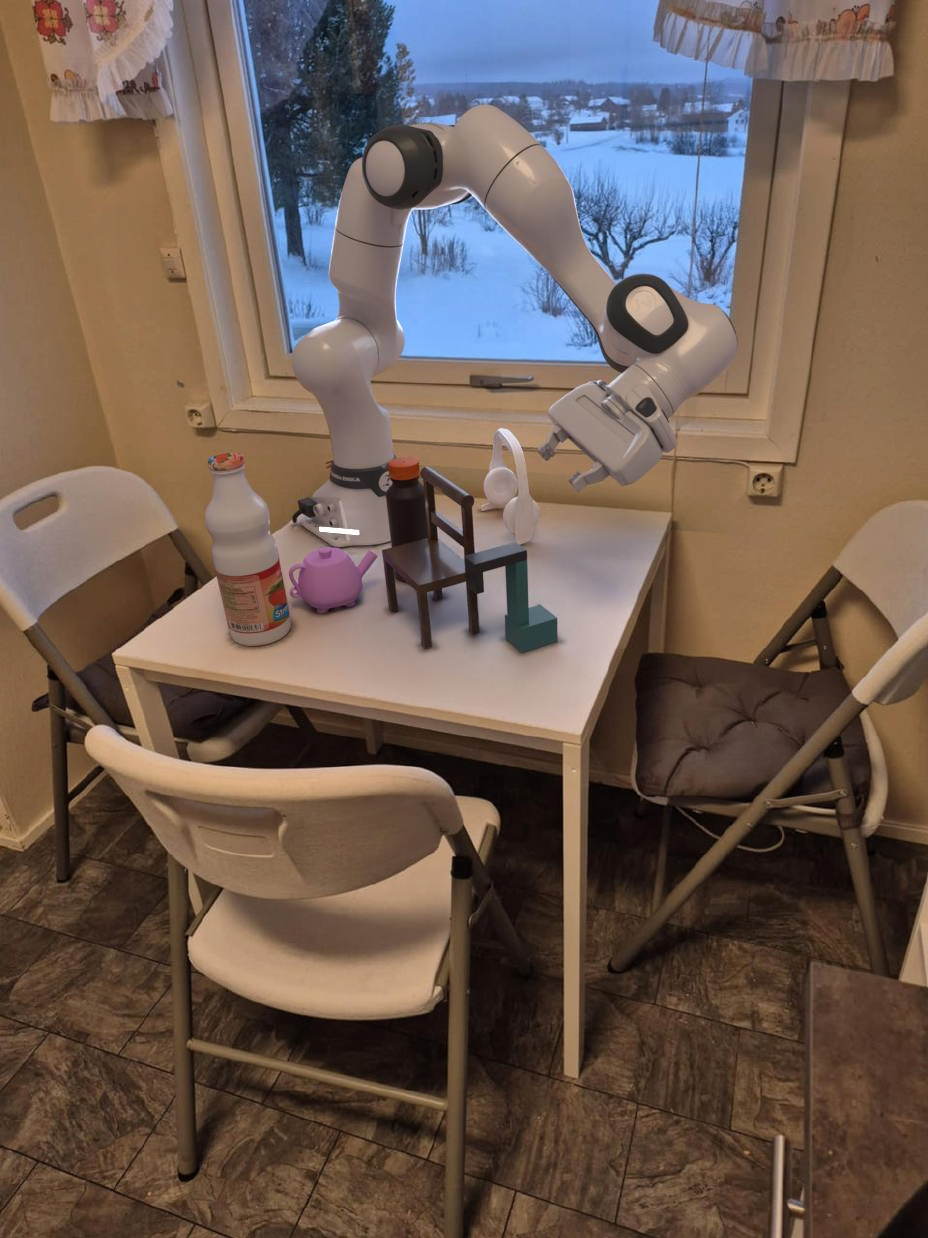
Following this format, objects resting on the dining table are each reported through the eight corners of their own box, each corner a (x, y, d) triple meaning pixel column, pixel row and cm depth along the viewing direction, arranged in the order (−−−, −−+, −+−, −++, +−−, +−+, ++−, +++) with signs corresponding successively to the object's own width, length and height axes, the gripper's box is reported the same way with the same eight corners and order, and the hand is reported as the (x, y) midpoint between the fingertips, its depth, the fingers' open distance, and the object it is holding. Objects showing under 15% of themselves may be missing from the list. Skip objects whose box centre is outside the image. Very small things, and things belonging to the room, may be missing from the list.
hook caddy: (540, 627, 128) (538, 532, 120) (557, 641, 124) (556, 544, 116) (468, 650, 124) (461, 553, 116) (483, 666, 120) (477, 566, 112)
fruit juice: (227, 624, 135) (187, 453, 121) (286, 611, 137) (254, 442, 123) (234, 653, 127) (192, 474, 113) (297, 639, 129) (264, 461, 115)
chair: (442, 594, 139) (431, 465, 128) (482, 631, 128) (474, 493, 117) (388, 609, 136) (373, 478, 125) (425, 649, 124) (411, 508, 114)
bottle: (417, 561, 150) (406, 452, 140) (442, 573, 146) (433, 460, 136) (386, 575, 146) (373, 463, 136) (412, 587, 142) (400, 472, 132)
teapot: (285, 597, 141) (276, 545, 137) (372, 576, 146) (366, 526, 141) (300, 624, 133) (290, 571, 128) (391, 602, 138) (385, 549, 133)
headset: (543, 544, 153) (542, 448, 144) (505, 550, 152) (501, 453, 143) (514, 504, 170) (512, 416, 161) (480, 509, 169) (475, 420, 160)
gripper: (588, 360, 122) (513, 424, 124) (667, 418, 107) (582, 490, 109) (605, 391, 127) (533, 452, 128) (684, 451, 112) (602, 519, 113)
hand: (556, 470), depth 118 cm, fingers open, 8 cm apart
